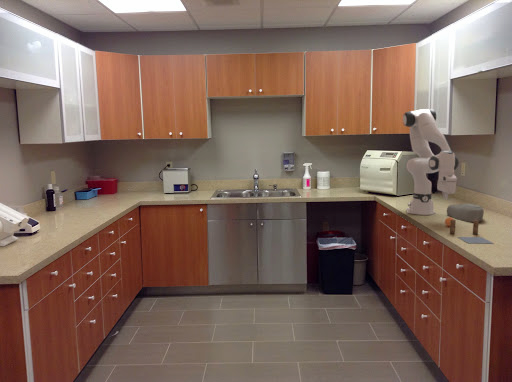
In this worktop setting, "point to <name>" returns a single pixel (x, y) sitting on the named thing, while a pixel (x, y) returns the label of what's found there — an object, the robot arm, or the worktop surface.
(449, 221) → the ball
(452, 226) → the post
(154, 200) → the worktop surface
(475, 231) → the post
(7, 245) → the worktop surface
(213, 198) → the worktop surface
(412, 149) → the robot arm
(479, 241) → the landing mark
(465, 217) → the stone
